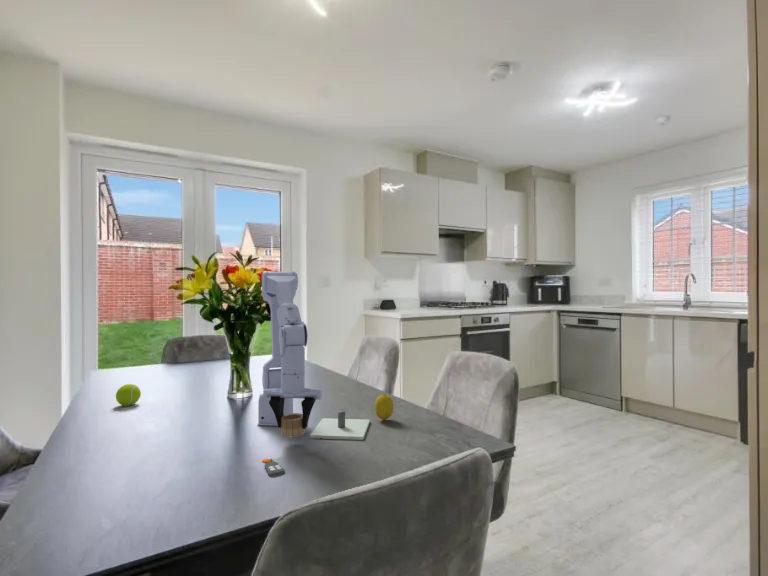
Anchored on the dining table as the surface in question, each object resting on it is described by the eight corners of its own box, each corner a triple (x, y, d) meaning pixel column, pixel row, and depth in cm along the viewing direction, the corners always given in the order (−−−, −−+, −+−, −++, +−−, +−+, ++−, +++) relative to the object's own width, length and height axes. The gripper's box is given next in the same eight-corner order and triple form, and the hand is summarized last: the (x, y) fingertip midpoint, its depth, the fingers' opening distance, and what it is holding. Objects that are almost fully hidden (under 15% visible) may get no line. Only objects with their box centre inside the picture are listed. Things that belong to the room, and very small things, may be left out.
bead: (278, 436, 101) (278, 420, 101) (285, 428, 107) (285, 412, 107) (300, 437, 100) (300, 420, 100) (306, 429, 106) (306, 413, 106)
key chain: (287, 475, 88) (287, 468, 88) (269, 479, 86) (269, 472, 86) (270, 454, 99) (270, 448, 99) (254, 457, 97) (254, 451, 97)
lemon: (391, 424, 119) (391, 396, 119) (372, 422, 120) (372, 395, 120) (394, 418, 125) (395, 391, 125) (376, 417, 126) (377, 390, 126)
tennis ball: (144, 402, 142) (144, 381, 142) (133, 408, 135) (133, 386, 135) (123, 402, 141) (123, 382, 141) (111, 408, 134) (111, 387, 134)
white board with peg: (310, 438, 108) (310, 418, 108) (322, 420, 122) (322, 403, 122) (363, 439, 107) (363, 420, 107) (369, 422, 121) (369, 405, 121)
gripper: (258, 375, 100) (258, 431, 100) (317, 376, 99) (317, 433, 99) (269, 369, 107) (269, 422, 107) (324, 370, 106) (324, 423, 106)
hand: (292, 427), depth 104 cm, fingers closed on bead, 6 cm apart
